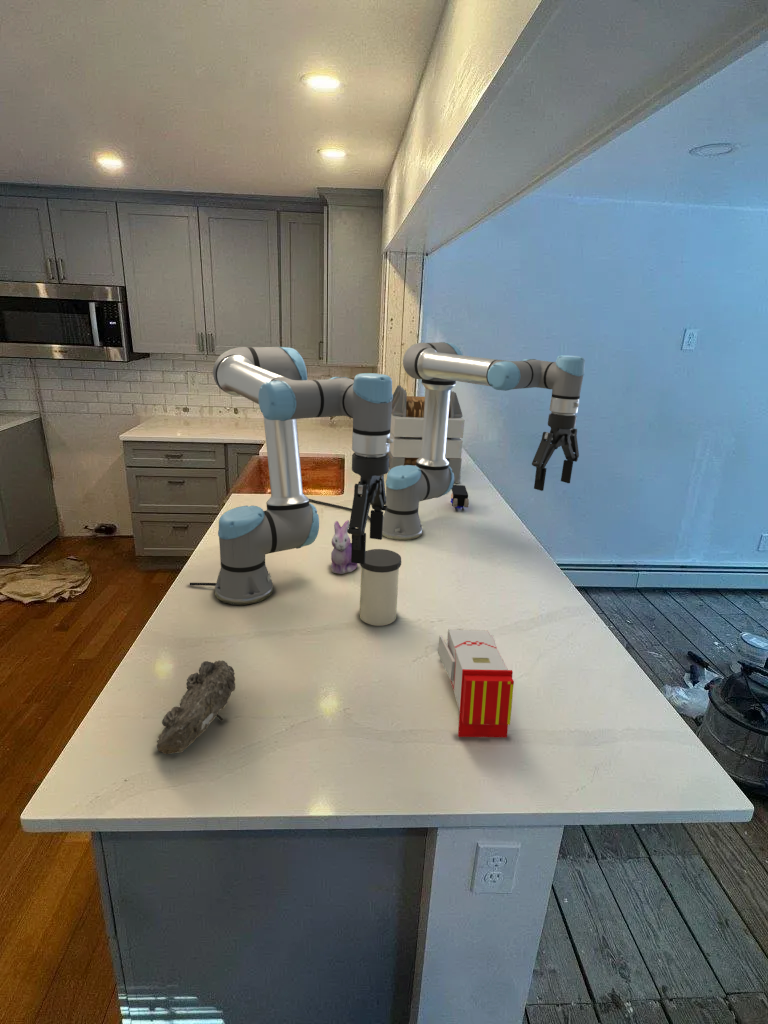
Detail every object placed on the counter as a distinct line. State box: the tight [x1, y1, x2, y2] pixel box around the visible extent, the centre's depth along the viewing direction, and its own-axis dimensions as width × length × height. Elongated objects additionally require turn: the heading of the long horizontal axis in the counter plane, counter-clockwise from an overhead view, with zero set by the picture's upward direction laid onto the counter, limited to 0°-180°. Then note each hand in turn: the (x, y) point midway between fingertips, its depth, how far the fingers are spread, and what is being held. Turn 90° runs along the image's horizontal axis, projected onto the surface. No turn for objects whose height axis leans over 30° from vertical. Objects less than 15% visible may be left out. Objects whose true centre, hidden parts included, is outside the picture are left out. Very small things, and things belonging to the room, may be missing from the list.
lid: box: [359, 548, 402, 573], centre depth 141 cm, size 10×10×2 cm
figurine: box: [330, 519, 358, 575], centre depth 169 cm, size 9×10×15 cm
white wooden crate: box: [387, 384, 465, 484], centre depth 268 cm, size 34×33×41 cm
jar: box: [359, 566, 400, 627], centre depth 143 cm, size 9×9×16 cm
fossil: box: [156, 660, 236, 755], centre depth 106 cm, size 22×10×15 cm
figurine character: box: [449, 484, 470, 512], centre depth 229 cm, size 7×8×15 cm
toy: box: [437, 628, 515, 738], centre depth 117 cm, size 12×13×30 cm
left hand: (367, 550), depth 121 cm, fingers open, 13 cm apart
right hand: (552, 485), depth 166 cm, fingers open, 13 cm apart
